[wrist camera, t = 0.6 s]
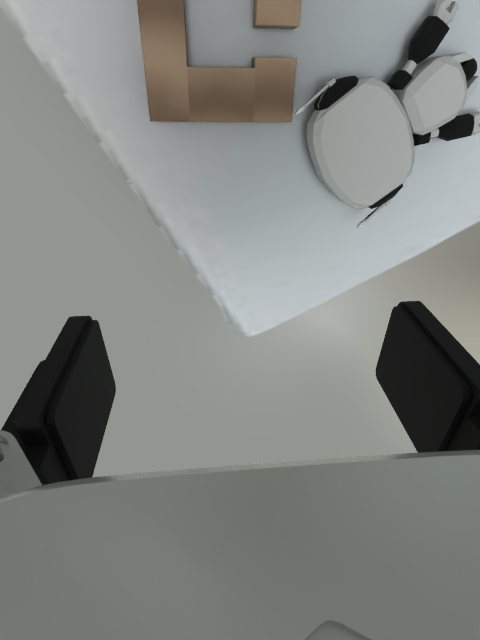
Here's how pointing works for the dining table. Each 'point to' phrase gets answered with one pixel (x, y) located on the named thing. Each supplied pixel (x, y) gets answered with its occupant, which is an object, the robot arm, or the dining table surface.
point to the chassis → (214, 70)
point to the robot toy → (390, 118)
